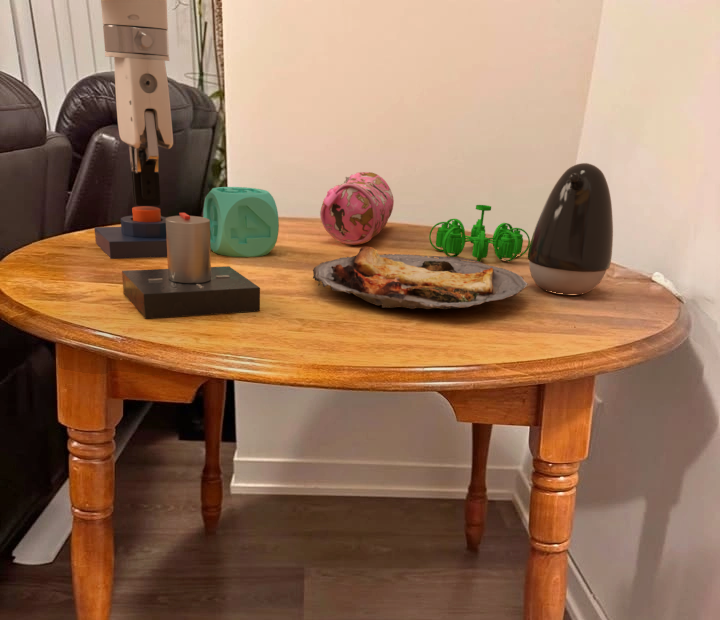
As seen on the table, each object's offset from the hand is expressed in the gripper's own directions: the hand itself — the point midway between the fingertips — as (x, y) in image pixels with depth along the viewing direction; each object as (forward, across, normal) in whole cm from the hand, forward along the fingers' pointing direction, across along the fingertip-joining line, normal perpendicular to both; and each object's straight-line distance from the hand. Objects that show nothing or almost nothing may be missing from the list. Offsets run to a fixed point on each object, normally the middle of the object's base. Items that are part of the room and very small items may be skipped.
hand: (146, 204), depth 102 cm
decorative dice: (+6, -3, -12) cm, 14 cm away
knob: (+3, -27, +2) cm, 27 cm away
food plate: (+6, -29, -25) cm, 39 cm away
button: (+2, 0, 0) cm, 2 cm away
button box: (+6, 0, 0) cm, 6 cm away
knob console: (+6, -27, +2) cm, 28 cm away
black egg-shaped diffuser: (+6, -32, -45) cm, 55 cm away
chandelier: (+6, -10, -47) cm, 48 cm away
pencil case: (+6, +6, -35) cm, 36 cm away
